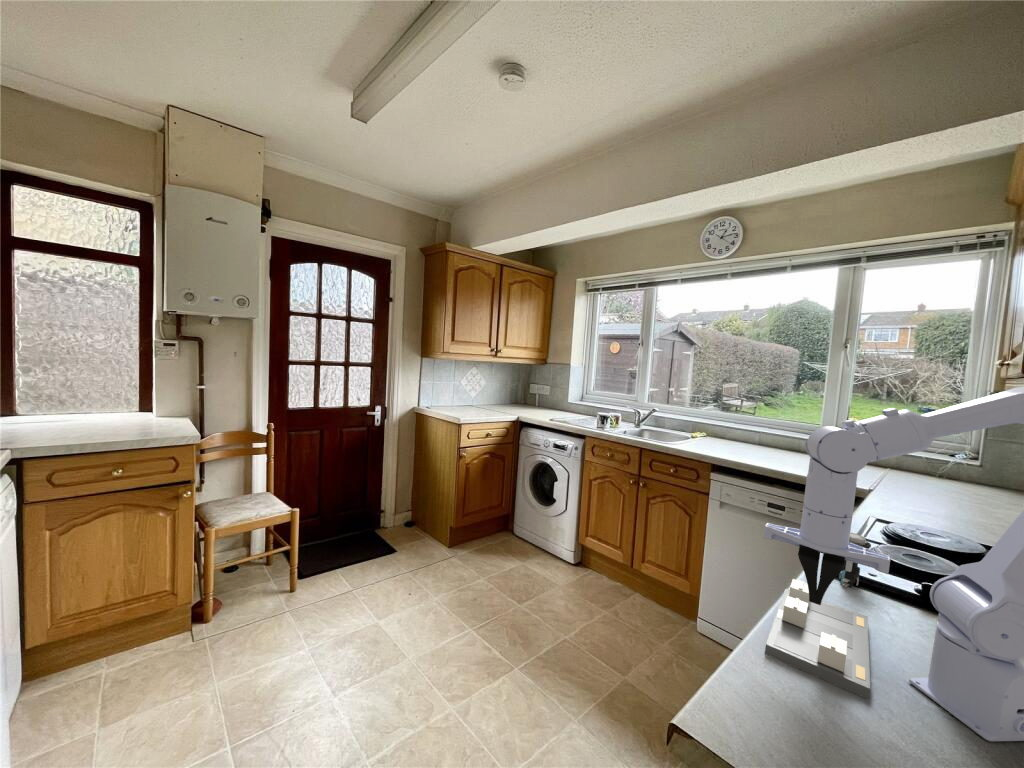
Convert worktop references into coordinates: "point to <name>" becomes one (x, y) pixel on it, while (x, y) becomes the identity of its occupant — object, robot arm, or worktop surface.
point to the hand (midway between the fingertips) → (815, 600)
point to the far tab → (799, 591)
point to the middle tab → (795, 611)
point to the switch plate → (804, 644)
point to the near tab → (832, 651)
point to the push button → (850, 568)
